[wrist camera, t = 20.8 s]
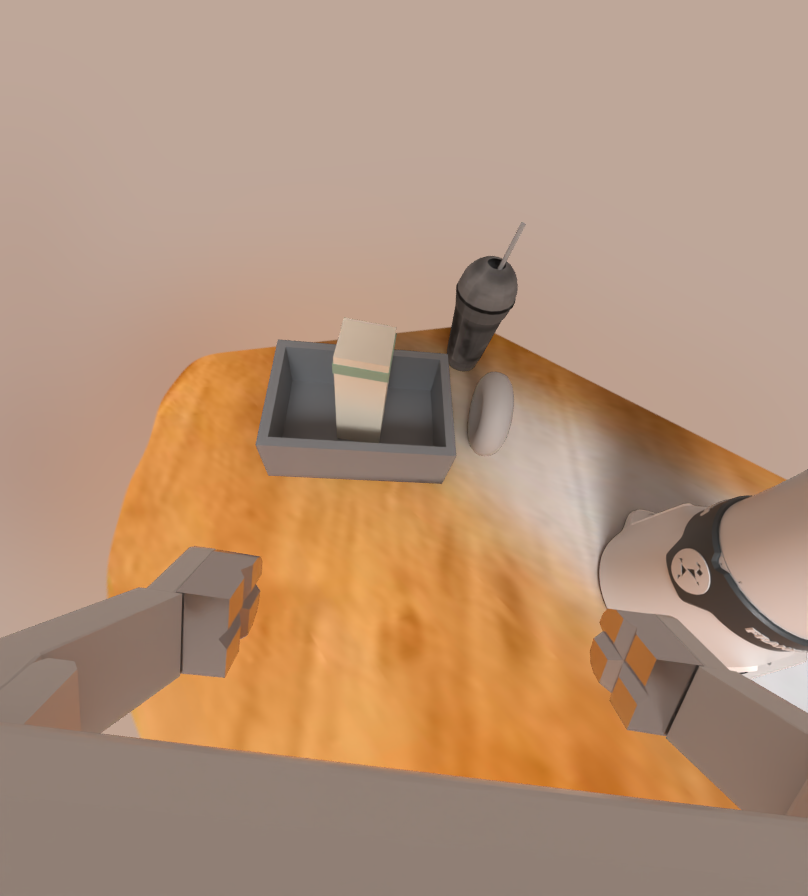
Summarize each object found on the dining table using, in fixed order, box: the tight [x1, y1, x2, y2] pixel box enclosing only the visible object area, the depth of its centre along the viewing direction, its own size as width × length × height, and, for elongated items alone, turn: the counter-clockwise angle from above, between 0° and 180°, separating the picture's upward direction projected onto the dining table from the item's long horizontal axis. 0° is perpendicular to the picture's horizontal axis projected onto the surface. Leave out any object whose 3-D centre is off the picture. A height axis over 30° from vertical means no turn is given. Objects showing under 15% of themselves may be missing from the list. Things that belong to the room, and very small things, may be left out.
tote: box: [256, 340, 456, 484], centre depth 45 cm, size 20×14×7 cm
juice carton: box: [332, 318, 397, 443], centre depth 41 cm, size 5×5×14 cm
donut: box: [468, 372, 514, 456], centre depth 45 cm, size 10×3×10 cm, turn 174°
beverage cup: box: [447, 222, 525, 371], centre depth 47 cm, size 7×7×20 cm
